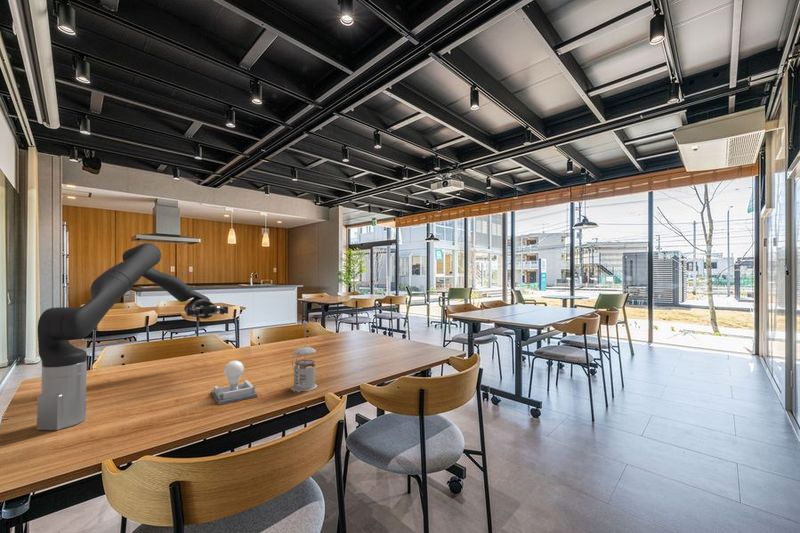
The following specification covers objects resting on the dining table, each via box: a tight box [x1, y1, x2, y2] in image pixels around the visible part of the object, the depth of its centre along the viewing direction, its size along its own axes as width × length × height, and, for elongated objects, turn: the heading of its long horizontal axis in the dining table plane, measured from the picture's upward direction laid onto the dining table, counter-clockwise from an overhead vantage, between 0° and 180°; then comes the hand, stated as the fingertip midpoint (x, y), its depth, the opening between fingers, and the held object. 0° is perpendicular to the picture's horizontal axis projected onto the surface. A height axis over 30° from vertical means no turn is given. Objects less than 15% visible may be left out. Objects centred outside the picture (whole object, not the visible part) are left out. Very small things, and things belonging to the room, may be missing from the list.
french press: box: [290, 320, 318, 393], centre depth 129 cm, size 10×12×25 cm
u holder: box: [210, 379, 258, 406], centre depth 121 cm, size 14×12×3 cm
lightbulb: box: [223, 359, 245, 391], centre depth 121 cm, size 6×6×11 cm
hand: (210, 312), depth 130 cm, fingers open, 8 cm apart
